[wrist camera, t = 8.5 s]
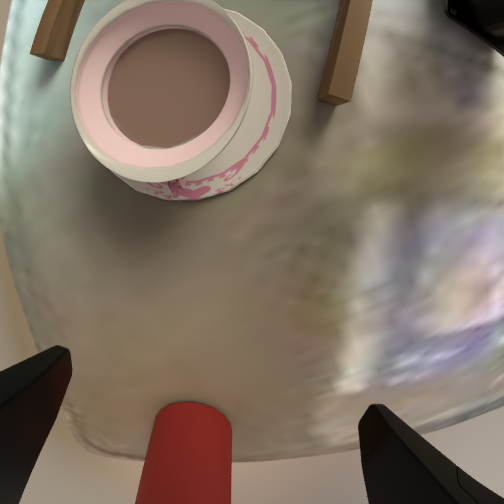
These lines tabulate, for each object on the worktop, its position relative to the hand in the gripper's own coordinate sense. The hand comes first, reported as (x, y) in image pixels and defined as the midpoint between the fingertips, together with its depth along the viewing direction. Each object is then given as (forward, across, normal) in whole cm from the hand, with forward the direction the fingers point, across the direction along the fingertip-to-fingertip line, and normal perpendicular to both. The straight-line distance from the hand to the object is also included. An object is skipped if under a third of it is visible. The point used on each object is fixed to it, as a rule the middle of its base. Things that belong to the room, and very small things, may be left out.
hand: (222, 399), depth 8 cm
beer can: (+12, 0, +16) cm, 20 cm away
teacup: (+12, +5, -8) cm, 16 cm away
